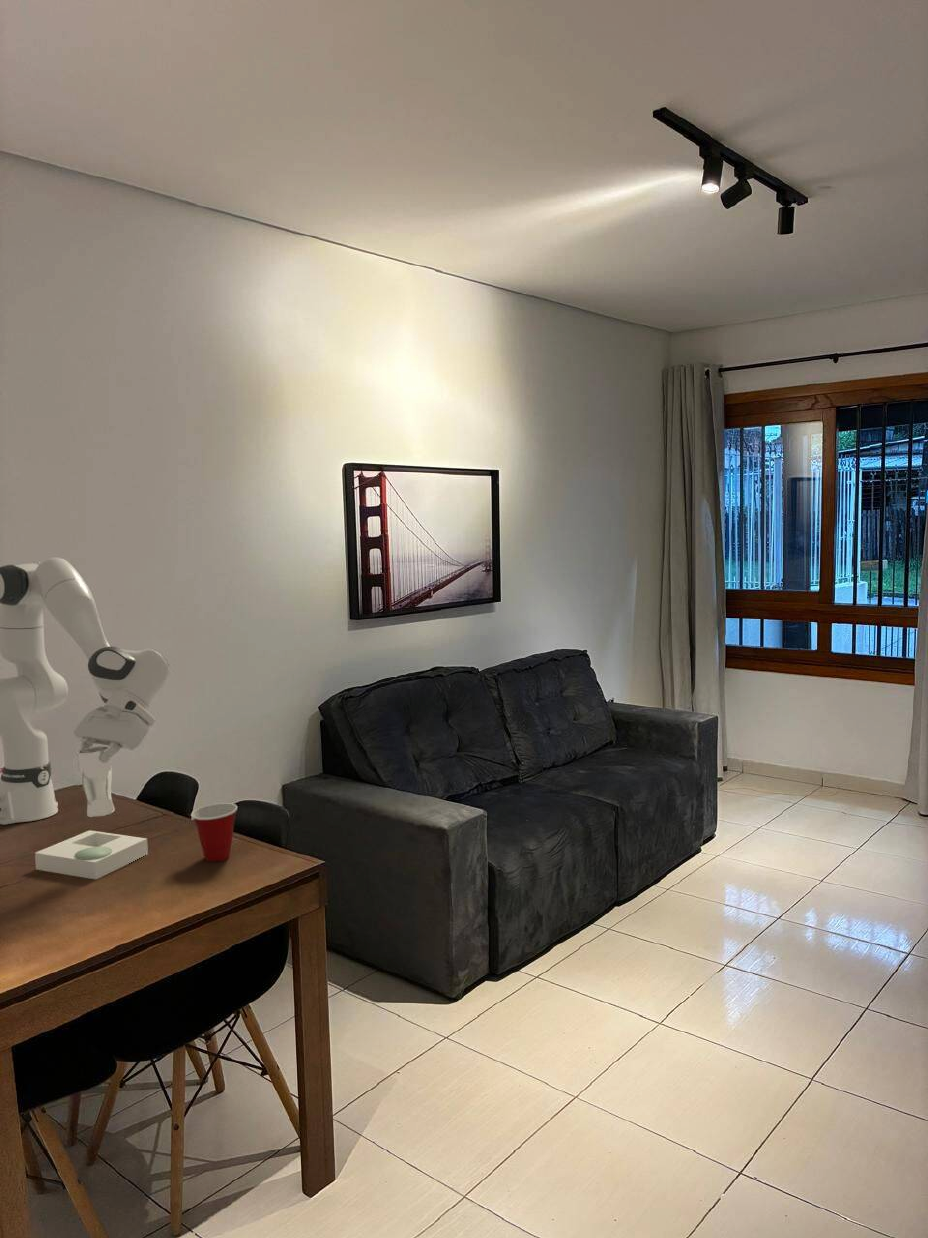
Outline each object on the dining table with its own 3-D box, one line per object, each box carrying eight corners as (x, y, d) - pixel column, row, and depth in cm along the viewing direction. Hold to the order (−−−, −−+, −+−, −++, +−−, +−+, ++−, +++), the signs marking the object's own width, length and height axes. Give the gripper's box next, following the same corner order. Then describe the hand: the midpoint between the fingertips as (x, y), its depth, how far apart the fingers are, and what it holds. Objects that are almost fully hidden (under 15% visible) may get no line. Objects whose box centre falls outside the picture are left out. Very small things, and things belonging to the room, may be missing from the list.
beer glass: (121, 807, 219) (113, 745, 218) (110, 816, 212) (102, 751, 211) (91, 809, 219) (83, 747, 218) (80, 818, 212) (71, 754, 211)
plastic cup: (191, 853, 226) (188, 805, 225) (236, 847, 230) (234, 800, 228) (194, 868, 216) (192, 818, 215) (242, 862, 220) (240, 812, 218)
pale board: (36, 869, 216) (34, 851, 216) (90, 846, 232) (89, 829, 232) (96, 879, 210) (95, 861, 209) (148, 854, 225) (147, 837, 225)
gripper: (88, 698, 225) (54, 746, 218) (143, 705, 214) (110, 756, 207) (105, 713, 229) (72, 761, 222) (160, 721, 218) (128, 771, 211)
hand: (91, 759), depth 214 cm, fingers open, 6 cm apart
